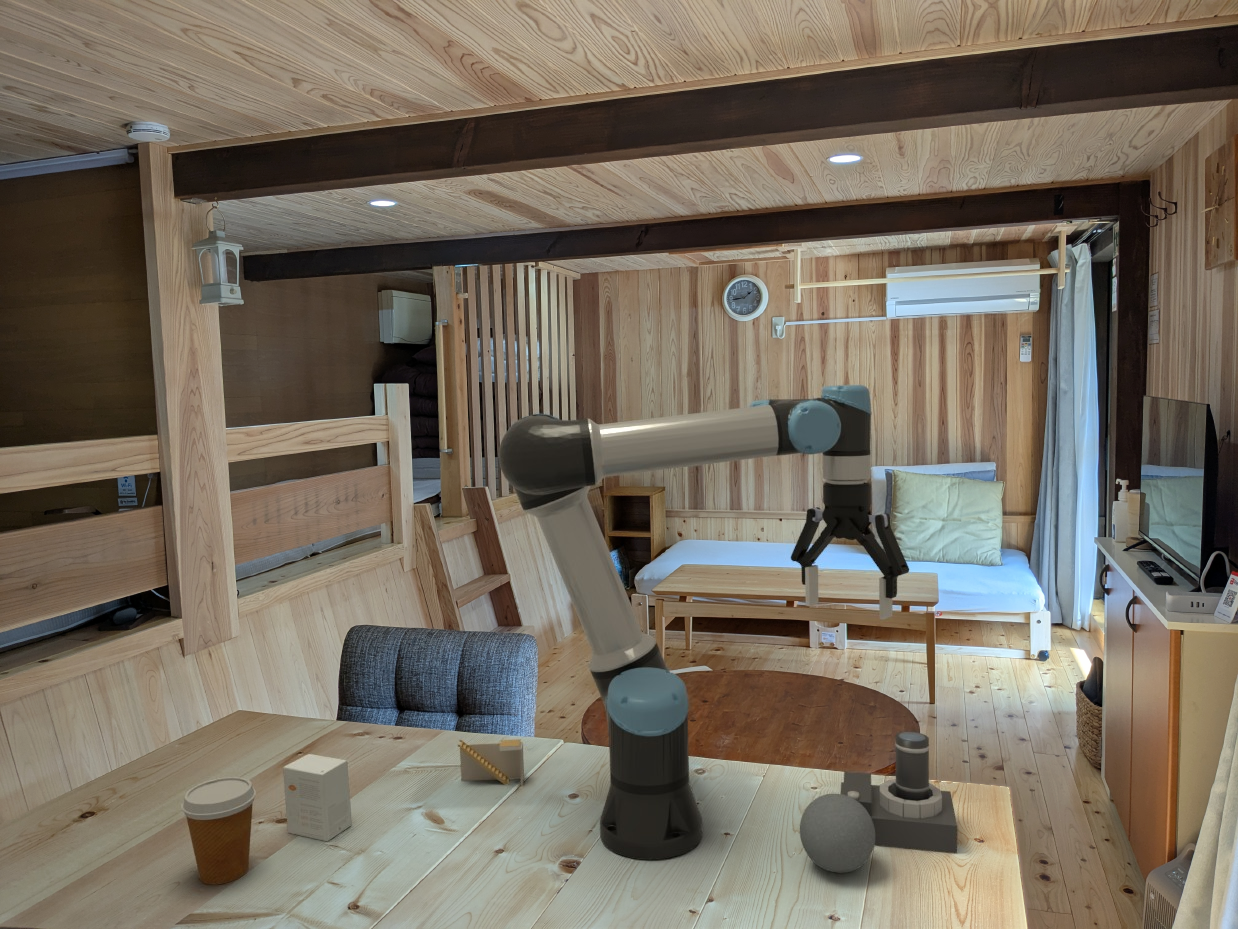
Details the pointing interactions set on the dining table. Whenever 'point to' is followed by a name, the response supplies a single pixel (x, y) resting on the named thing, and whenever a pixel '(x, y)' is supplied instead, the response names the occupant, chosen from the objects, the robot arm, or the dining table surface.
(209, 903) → the dining table surface
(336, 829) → the small box
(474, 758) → the model
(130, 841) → the dining table surface
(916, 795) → the lens
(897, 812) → the camera body
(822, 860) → the decorative stone
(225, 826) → the disposable coffee cup
